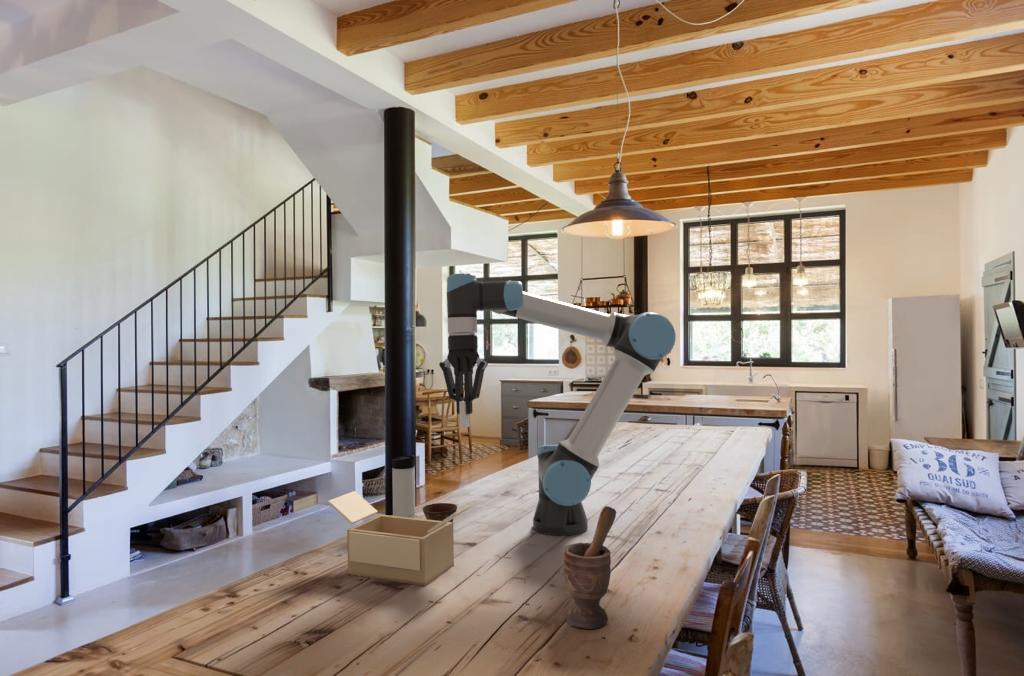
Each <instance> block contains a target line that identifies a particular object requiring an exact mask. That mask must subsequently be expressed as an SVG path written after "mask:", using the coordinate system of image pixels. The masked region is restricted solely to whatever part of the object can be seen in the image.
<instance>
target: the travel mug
mask: <svg viewBox="0 0 1024 676" xmlns="http://www.w3.org/2000/svg"><path fill="white" fill-rule="evenodd" d="M415 459H416V455H415V454H413V455H412V454H411V455H404V456H402V455H401V456H398V457H395V458H392V461H391V462H392V468H391V471H392V472H391V473H392V477H391V478H392V516H398V517H407V518H416V486H415V485H416V478H415V475H416V474H415V471H416V470H415Z"/></svg>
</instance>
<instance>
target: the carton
mask: <svg viewBox="0 0 1024 676" xmlns="http://www.w3.org/2000/svg"><path fill="white" fill-rule="evenodd" d="M440 522H441V521H436V520H427V519H426V518H425V519H423V518H417V517H415V518H407V517H398V516H393V515H388V514H387V515H386V514H379V515H377V516H375V517H372V518H370V519H368V520H366V521H364V522H362V523H359V524H356V525H355V526H352V527H351V528H348V529H347V530H346V534H347V535H346V537H347V538H346V540H347V541H346V542H347V547H346V548H347V575H349V574H351V575H350V576H355V575H357V576H356V577H362V576H363V577H362V578H368V577H369V578H370V579H375V580H376V579H377V580H383V581H388V582H389V581H390V582H395V583H397V582H398V583H402V584H409V585H415V586H423V587H426V586H428V585H429V584H431V583H432V582H434V581H435V580H436V579H438V578H439V577H440V576H442V575H443V574H444V573H446V572H447V571H449V570H450V569H451V568H453V567H454V566H455V553H454V549H455V548H454V546H455V545H454V521H453V522H447V523H445V524H443V525H442V526H440V527H438V528H436V529H434V530H433V531H431V532H429V533H428V532H427V531H428V530H429V529H431V528H432V527H434V526H435V525H437V524H438V523H440Z"/></svg>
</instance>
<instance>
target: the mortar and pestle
mask: <svg viewBox="0 0 1024 676" xmlns="http://www.w3.org/2000/svg"><path fill="white" fill-rule="evenodd" d="M616 517H617V511H616V509H615V508H613V507H611V506H607V505H605V506H604V507H602V510H601V511H600V514H599V517H598V521H597V525H596V529H595V531H594V532H595V533H594V536H593V538H592V541H591V542H578V543H571V544H568V545H566V546H564V548H563V549H562V550H563V563H564V564H563V574H564V580H565V584H566V585H567V591H568V593H569V595H571V597H572V599H573V600H574V604H573V606H572V607H571V608H569V609H568V611H567V616H566V621H567V622H568V624H569V625H568V626H570V627H575V628H580V629H581V628H582V629H585V630H587V629H589V630H594V629H601V628H603V627H604V626H605V625H606V624H607V623H608V621H609V616H608V614H607V612H606V610H605V609H604V608H603V607H602V606H601V605H600V602H601V600H602V598H603V597H605V595H607V592H608V588H609V585H610V581H611V574H612V573H611V572H612V571H611V562H612V559H611V550H610V549H609V548H608V547H606V546H605V545H604V543H605V541H606V539H607V537H608V534H609V533H610V531H611V528H612V527H613V524H614V523H615V520H616Z"/></svg>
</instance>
